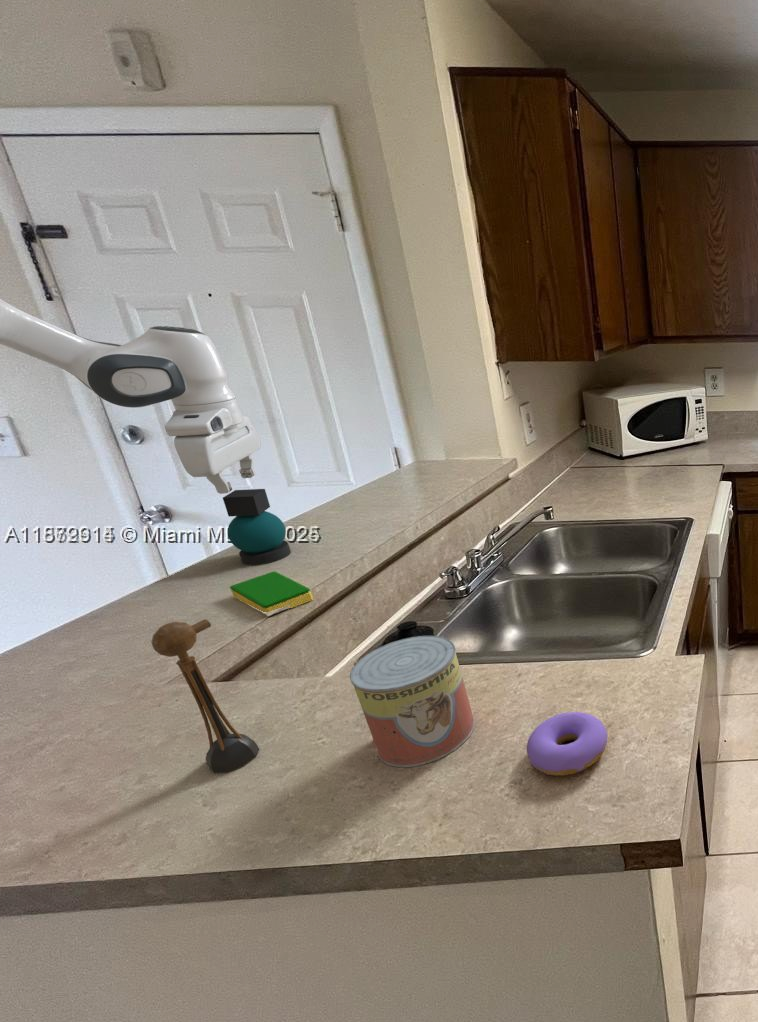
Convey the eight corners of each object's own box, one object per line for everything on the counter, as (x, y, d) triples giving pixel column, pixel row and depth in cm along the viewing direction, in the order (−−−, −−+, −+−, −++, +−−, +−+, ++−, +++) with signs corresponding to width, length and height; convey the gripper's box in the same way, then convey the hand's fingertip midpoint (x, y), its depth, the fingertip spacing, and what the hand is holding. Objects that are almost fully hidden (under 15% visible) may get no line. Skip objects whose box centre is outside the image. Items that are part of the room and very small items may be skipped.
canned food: (392, 782, 74) (363, 703, 69) (367, 735, 81) (339, 661, 76) (488, 734, 81) (468, 660, 76) (457, 695, 88) (437, 625, 83)
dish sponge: (268, 617, 107) (263, 605, 106) (233, 597, 113) (228, 585, 112) (314, 600, 112) (310, 588, 111) (278, 581, 119) (274, 570, 118)
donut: (626, 738, 80) (616, 714, 77) (577, 798, 74) (564, 775, 71) (569, 714, 84) (558, 691, 81) (518, 770, 78) (504, 746, 75)
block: (228, 516, 121) (222, 497, 120) (241, 508, 126) (235, 489, 124) (259, 515, 123) (253, 496, 121) (270, 506, 127) (264, 488, 126)
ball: (230, 568, 123) (210, 522, 119) (251, 550, 131) (233, 506, 127) (283, 563, 126) (265, 517, 121) (301, 545, 133) (285, 501, 129)
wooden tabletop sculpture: (247, 736, 80) (185, 606, 72) (276, 742, 80) (216, 610, 71) (199, 770, 75) (125, 633, 67) (229, 776, 74) (159, 638, 66)
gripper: (219, 405, 124) (243, 470, 130) (158, 429, 106) (189, 503, 112) (256, 403, 126) (279, 467, 131) (202, 427, 108) (231, 500, 114)
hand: (237, 484), depth 122 cm, fingers open, 8 cm apart
